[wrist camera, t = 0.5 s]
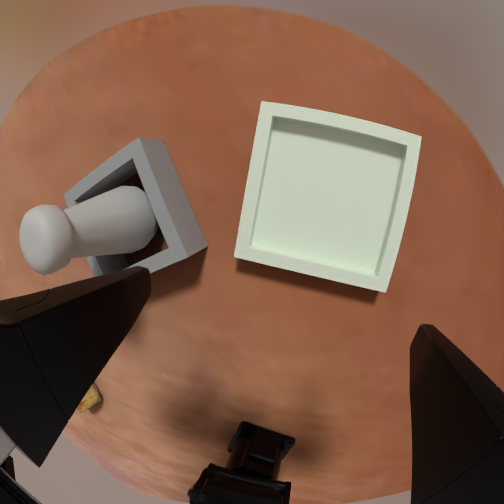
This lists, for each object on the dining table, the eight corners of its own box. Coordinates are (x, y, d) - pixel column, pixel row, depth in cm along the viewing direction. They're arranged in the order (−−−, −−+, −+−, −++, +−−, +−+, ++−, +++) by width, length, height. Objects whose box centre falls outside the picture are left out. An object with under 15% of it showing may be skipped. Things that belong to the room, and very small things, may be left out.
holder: (207, 246, 26) (188, 257, 22) (126, 280, 29) (102, 294, 25) (164, 141, 24) (139, 137, 21) (90, 191, 27) (63, 194, 24)
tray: (381, 284, 23) (385, 292, 21) (240, 251, 25) (233, 256, 23) (414, 139, 20) (421, 136, 18) (266, 107, 22) (261, 101, 20)
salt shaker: (160, 255, 27) (56, 307, 15) (113, 234, 28) (8, 268, 15) (175, 194, 25) (62, 211, 13) (125, 177, 26) (12, 185, 14)
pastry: (52, 359, 36) (37, 370, 33) (65, 342, 34) (47, 353, 31) (91, 406, 37) (77, 419, 33) (108, 394, 35) (93, 409, 31)
